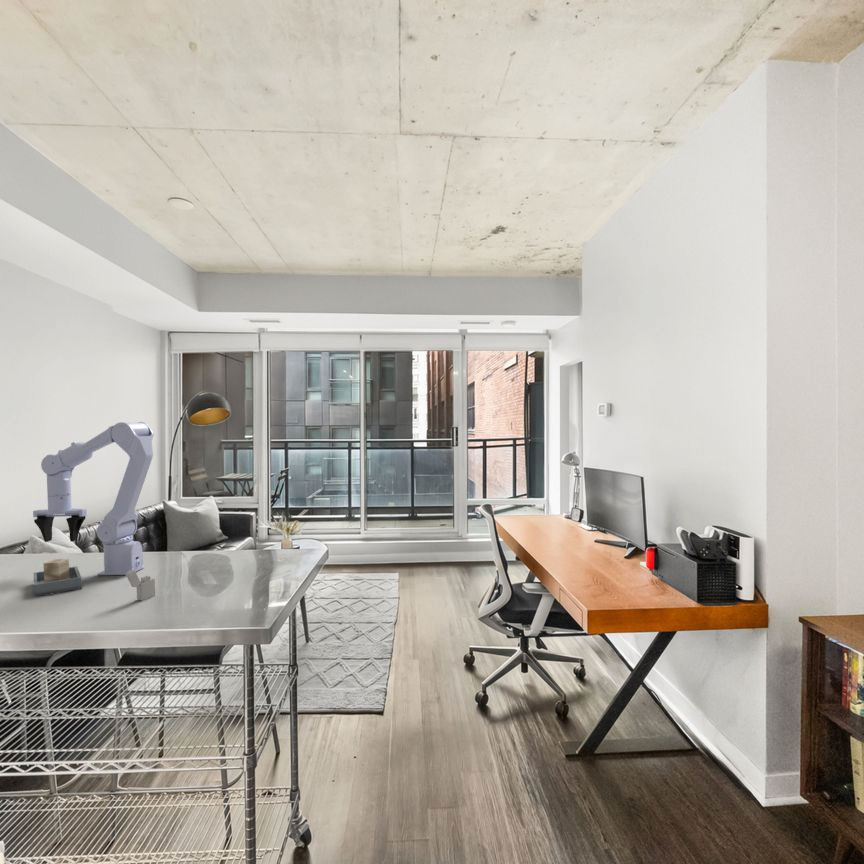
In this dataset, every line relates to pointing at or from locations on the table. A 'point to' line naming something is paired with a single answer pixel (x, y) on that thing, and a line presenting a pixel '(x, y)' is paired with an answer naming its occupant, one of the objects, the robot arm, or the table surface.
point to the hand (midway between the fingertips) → (60, 540)
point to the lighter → (142, 585)
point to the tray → (57, 583)
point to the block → (56, 570)
